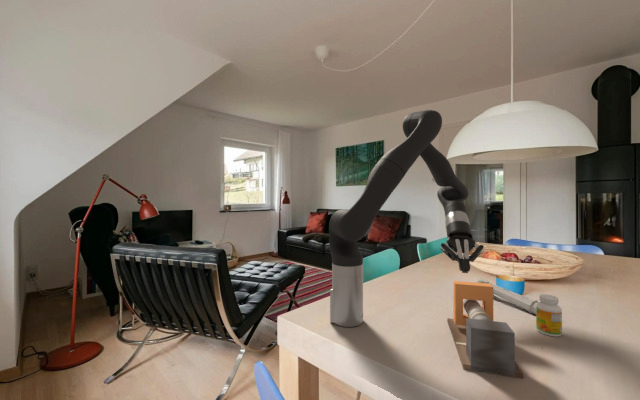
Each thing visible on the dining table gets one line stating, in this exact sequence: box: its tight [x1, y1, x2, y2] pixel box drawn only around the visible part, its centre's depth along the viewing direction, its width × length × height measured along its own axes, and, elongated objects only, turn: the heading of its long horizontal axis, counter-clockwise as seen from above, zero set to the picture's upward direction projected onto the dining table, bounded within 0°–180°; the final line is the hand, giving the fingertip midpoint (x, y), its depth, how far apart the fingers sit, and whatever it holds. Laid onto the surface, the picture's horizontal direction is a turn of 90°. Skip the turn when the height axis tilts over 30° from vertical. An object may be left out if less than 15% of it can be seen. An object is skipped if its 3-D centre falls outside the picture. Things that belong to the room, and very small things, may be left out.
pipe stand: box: [447, 299, 524, 379], centre depth 69 cm, size 11×24×9 cm, turn 163°
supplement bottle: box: [535, 293, 563, 338], centre depth 76 cm, size 5×5×10 cm
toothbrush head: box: [476, 277, 540, 316], centre depth 97 cm, size 5×7×25 cm
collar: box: [453, 280, 494, 326], centre depth 75 cm, size 9×3×11 cm, turn 73°
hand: (465, 271), depth 84 cm, fingers closed
